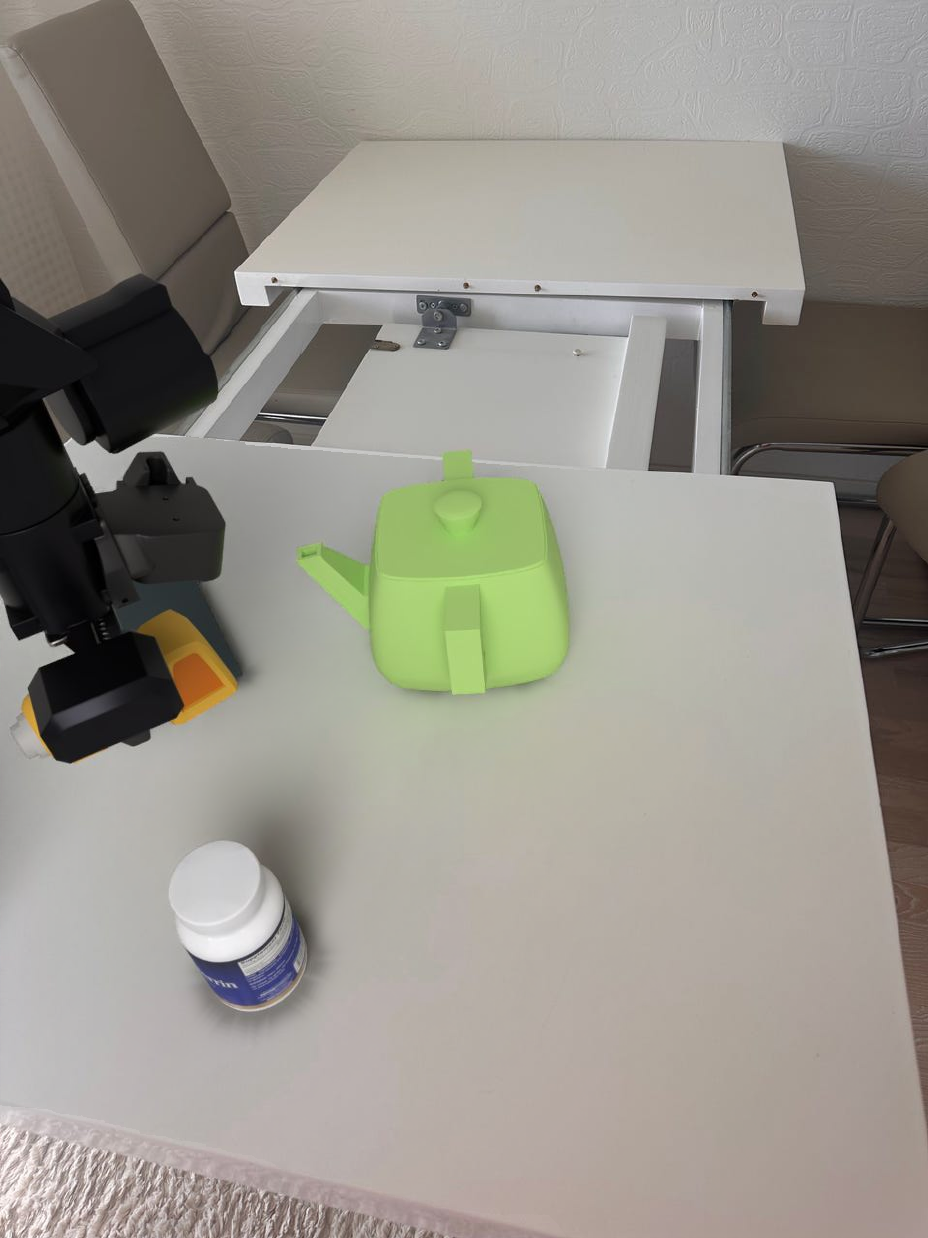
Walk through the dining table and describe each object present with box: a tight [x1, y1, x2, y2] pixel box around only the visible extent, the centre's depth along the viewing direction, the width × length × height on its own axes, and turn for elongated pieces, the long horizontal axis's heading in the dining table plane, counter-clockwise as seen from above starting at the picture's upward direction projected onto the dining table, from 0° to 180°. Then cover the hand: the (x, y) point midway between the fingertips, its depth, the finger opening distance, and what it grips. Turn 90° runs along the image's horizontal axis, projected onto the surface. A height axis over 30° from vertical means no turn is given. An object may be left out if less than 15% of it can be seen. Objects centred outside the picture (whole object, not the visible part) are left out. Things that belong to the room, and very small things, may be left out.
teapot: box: [295, 448, 570, 696], centre depth 67 cm, size 18×20×13 cm
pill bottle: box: [167, 839, 308, 1012], centre depth 51 cm, size 6×6×10 cm
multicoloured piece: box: [9, 609, 239, 764], centre depth 54 cm, size 5×6×12 cm
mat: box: [113, 580, 243, 679], centre depth 76 cm, size 9×22×1 cm, turn 28°
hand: (129, 707), depth 55 cm, fingers closed on multicoloured piece, 5 cm apart
